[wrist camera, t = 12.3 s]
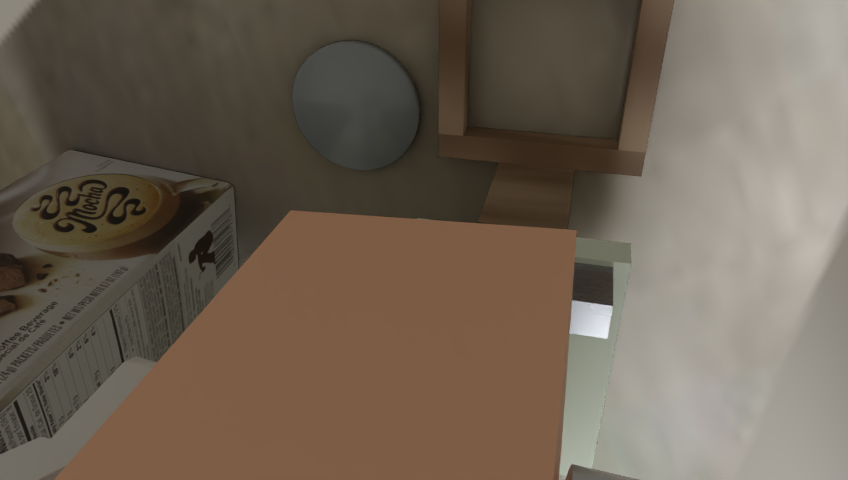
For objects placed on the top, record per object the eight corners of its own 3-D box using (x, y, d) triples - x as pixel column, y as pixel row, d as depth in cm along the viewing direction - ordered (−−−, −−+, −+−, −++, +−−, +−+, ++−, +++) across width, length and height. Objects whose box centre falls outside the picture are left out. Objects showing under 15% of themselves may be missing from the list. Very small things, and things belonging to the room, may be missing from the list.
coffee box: (92, 250, 36) (-214, 492, 23) (69, 144, 33) (-310, 357, 19) (244, 287, 35) (12, 568, 21) (237, 180, 31) (-46, 437, 18)
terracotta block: (561, 446, 12) (522, 893, 7) (328, 412, 13) (145, 775, 8) (576, 230, 9) (535, 664, 4) (290, 209, 10) (0, 542, 6)
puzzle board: (605, 356, 31) (603, 452, 26) (441, 330, 33) (411, 416, 28) (681, -54, 22) (699, -22, 17) (446, -60, 23) (401, -33, 18)
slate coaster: (421, 171, 28) (418, 176, 28) (303, 159, 30) (299, 163, 29) (419, 44, 25) (416, 47, 25) (290, 36, 27) (284, 39, 26)
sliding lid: (590, 456, 26) (587, 526, 23) (420, 424, 27) (399, 486, 25) (630, 243, 21) (632, 302, 18) (417, 217, 22) (390, 269, 20)
